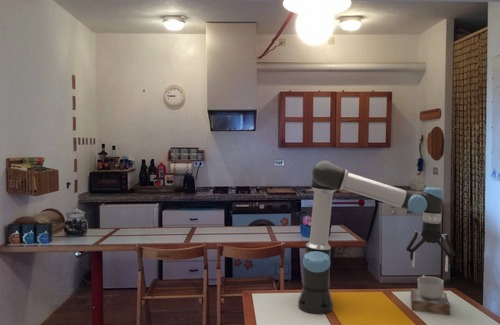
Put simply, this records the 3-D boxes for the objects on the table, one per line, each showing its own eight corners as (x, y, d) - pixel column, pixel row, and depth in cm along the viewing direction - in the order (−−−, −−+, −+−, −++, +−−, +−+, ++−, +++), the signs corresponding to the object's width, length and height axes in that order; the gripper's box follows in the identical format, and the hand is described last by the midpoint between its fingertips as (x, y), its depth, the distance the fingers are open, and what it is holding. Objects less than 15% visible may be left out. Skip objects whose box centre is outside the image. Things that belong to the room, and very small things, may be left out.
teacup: (446, 302, 177) (446, 284, 177) (419, 300, 179) (420, 282, 179) (437, 291, 191) (438, 274, 191) (413, 289, 193) (413, 273, 193)
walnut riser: (411, 309, 180) (412, 300, 180) (410, 296, 196) (410, 287, 196) (449, 315, 175) (450, 305, 175) (445, 301, 191) (445, 292, 191)
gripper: (402, 220, 185) (400, 267, 185) (464, 226, 176) (461, 274, 177) (402, 218, 192) (400, 263, 192) (461, 223, 183) (459, 270, 184)
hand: (429, 268), depth 185 cm, fingers open, 13 cm apart
